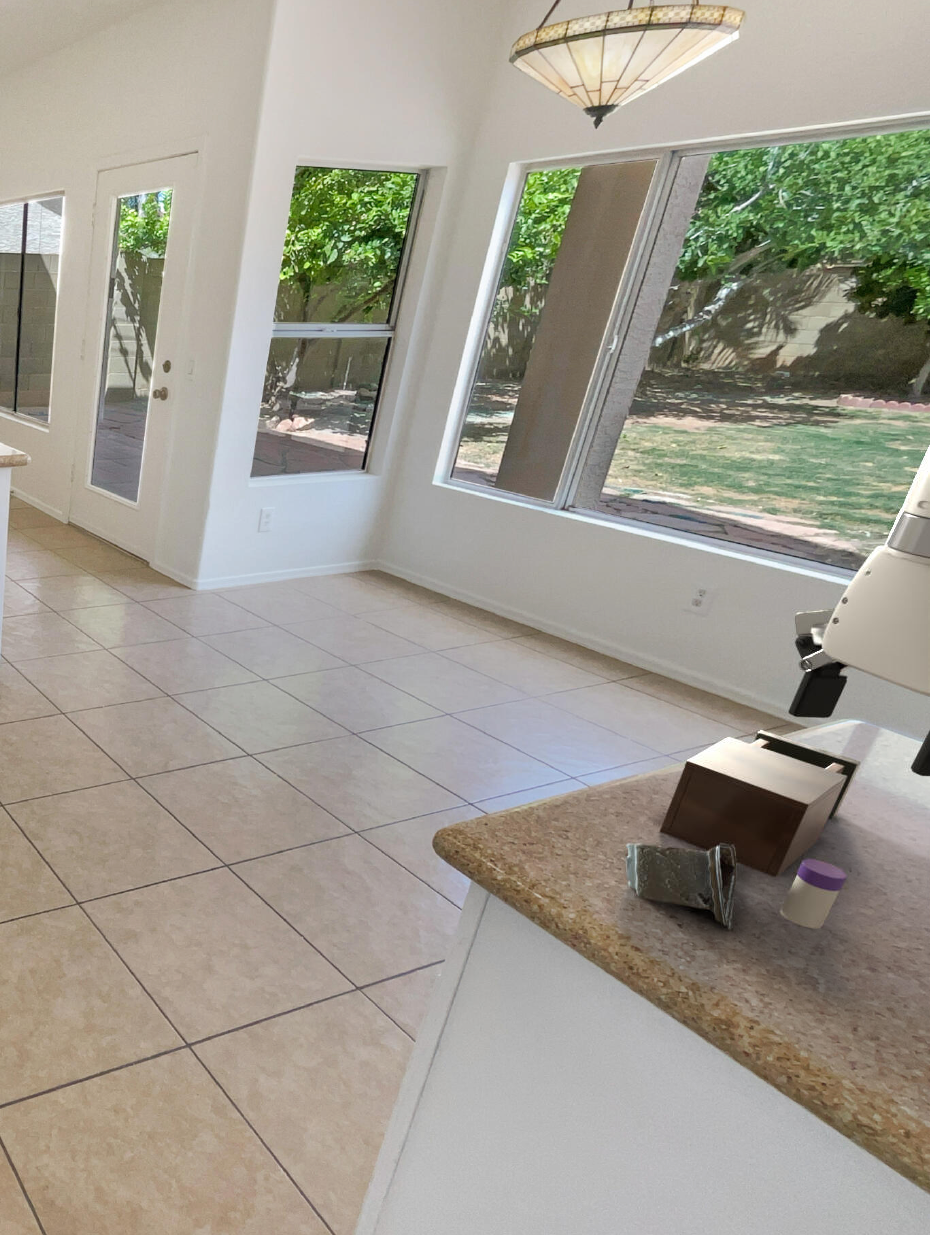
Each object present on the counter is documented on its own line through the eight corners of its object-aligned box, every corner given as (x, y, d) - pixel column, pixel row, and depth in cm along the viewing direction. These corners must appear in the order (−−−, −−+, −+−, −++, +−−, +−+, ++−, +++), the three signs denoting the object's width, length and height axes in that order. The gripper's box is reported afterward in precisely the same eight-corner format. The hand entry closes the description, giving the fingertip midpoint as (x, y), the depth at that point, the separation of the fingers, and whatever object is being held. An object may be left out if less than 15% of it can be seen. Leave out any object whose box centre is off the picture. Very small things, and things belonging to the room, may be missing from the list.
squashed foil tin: (641, 841, 85) (615, 795, 78) (739, 852, 79) (720, 804, 73) (639, 936, 81) (612, 897, 74) (742, 954, 76) (722, 913, 69)
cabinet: (701, 805, 91) (729, 736, 88) (813, 848, 84) (847, 776, 81) (659, 832, 86) (686, 760, 83) (774, 881, 79) (808, 804, 76)
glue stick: (805, 912, 75) (829, 860, 73) (830, 933, 72) (856, 880, 71) (770, 908, 75) (793, 857, 74) (794, 928, 73) (819, 876, 71)
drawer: (754, 773, 96) (776, 721, 94) (849, 806, 90) (875, 751, 87) (704, 805, 90) (726, 750, 87) (802, 843, 83) (829, 785, 81)
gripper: (1173, 581, 55) (1043, 803, 61) (888, 517, 71) (807, 698, 77) (1060, 577, 55) (941, 800, 61) (800, 515, 71) (726, 696, 77)
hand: (866, 743), depth 69 cm, fingers open, 9 cm apart
